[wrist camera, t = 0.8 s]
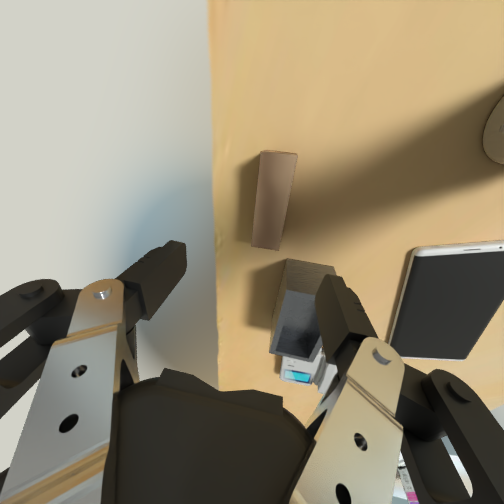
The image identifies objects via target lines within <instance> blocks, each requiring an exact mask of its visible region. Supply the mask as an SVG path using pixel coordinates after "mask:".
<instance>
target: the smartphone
mask: <svg viewBox="0 0 504 504" xmlns="http://www.w3.org/2000/svg"><path fill="white" fill-rule="evenodd" d="M503 300H504V240H498V241H485V242H473V243H460V244H448V245H435V246H423V247H417V248H415V249H414V250H413V251H412V254H411V258H410V262H409V266H408V269H407V273H406V277H405V281H404V285H403V289H402V292H401V296H400V300H399V304H398V308H397V311H396V315H395V319H394V323H393V327H392V331H391V334H390V338H389V342H388V345H390V346H391V347H392V348H393V349H394V350H395V351H396V352H397V353H398V354H399V356H400V357H401V358H409V359H429V360H448V361H464V360H465V359H466V358H467V356H468V355H469V353H470V351H471V350H472V348H473V347H474V345H475V344H476V342H477V341H478V339H479V337H480V336H481V334H482V333H483V331H484V330H485V328H486V327H487V325H488V323H489V322H490V320H491V319H492V317H493V316H494V314H495V313H496V311H497V309H498V308H499V306H500V305H501V303H502V302H503Z"/></svg>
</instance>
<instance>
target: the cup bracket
mask: <svg viewBox="0 0 504 504" xmlns="http://www.w3.org/2000/svg"><path fill="white" fill-rule="evenodd" d="M326 274H331V275H336V272H335V269H334V267H332V266H327V265H321V264H315V263H310V262H304V261H299V260H293V259H288V258H287V260H286V264H285V268H284V272H283V276H282V280H281V284H280V288H279V292H278V296H277V300H276V305H275V309H274V313H273V317H272V326H271V337H270V347H269V353H272V354H276V355H281V356H285V357H289V358H294V359H298V360H302V361H307V362H311V363H313V361H314V360H315V358H316V356H317V354H318V352H319V350H320V349H321V347H322V345H323V343H322V338H321V333H320V328H319V323H318V318H317V314H316V309H315V295H316V293H317V291H318V289H319V287H320V284H321V282H322V280H323V278H324V276H325V275H326ZM336 276H337V275H336Z"/></svg>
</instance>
